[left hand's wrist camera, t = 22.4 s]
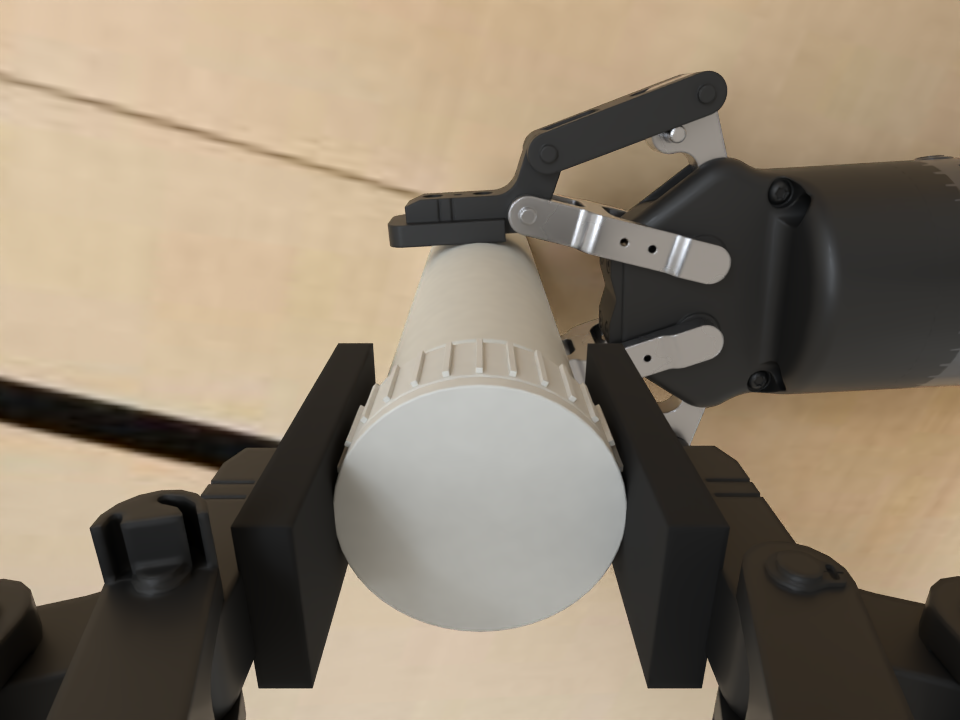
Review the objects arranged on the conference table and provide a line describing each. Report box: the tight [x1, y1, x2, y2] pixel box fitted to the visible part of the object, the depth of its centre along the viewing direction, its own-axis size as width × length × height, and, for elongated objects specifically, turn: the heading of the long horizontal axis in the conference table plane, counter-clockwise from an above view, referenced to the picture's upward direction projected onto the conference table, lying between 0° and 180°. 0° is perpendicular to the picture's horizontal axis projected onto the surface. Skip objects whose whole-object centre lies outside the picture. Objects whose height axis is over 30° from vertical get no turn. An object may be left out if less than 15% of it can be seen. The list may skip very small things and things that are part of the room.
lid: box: [333, 339, 627, 632], centre depth 11 cm, size 5×5×2 cm
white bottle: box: [387, 233, 575, 379], centre depth 19 cm, size 4×4×18 cm
